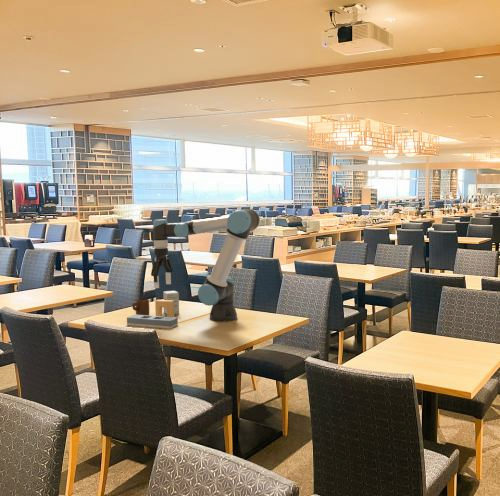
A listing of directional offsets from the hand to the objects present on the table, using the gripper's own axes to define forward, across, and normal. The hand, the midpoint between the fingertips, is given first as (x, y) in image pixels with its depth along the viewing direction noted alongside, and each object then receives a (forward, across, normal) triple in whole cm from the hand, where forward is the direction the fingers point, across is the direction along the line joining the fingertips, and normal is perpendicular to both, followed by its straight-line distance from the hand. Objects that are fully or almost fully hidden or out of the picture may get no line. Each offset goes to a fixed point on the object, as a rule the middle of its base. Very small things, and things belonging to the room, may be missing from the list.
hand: (162, 286), depth 313 cm
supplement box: (+19, -15, -3) cm, 24 cm away
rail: (+19, +14, 0) cm, 23 cm away
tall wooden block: (+19, 0, 0) cm, 19 cm away
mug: (+18, -2, -16) cm, 25 cm away
